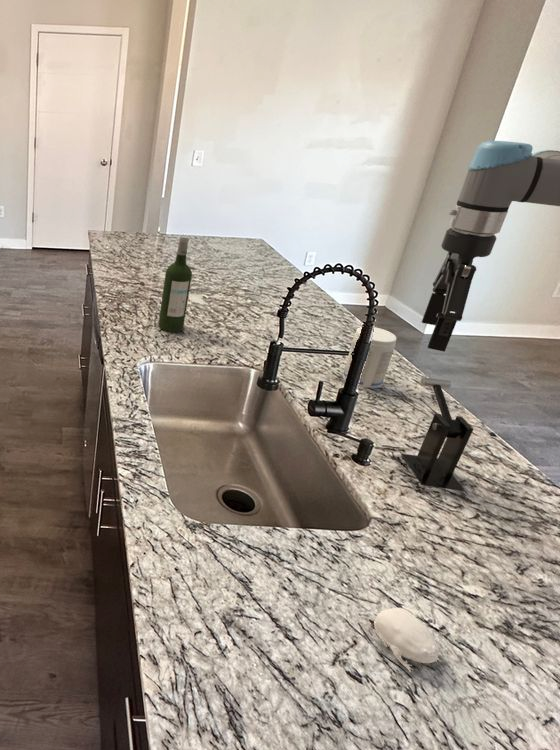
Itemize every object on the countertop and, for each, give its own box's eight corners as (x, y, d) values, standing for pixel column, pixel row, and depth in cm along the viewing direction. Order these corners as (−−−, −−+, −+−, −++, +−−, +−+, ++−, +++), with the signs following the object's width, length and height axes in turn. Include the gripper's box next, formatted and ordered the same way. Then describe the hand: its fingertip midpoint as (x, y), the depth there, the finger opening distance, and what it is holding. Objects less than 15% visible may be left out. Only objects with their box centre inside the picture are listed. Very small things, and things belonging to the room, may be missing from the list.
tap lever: (418, 381, 115) (424, 374, 113) (444, 384, 114) (450, 377, 113) (435, 435, 107) (442, 429, 105) (463, 439, 106) (470, 433, 104)
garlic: (447, 664, 75) (457, 646, 74) (409, 676, 73) (419, 659, 72) (398, 613, 82) (406, 597, 80) (363, 624, 80) (371, 607, 79)
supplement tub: (373, 375, 149) (390, 328, 143) (386, 393, 141) (404, 343, 135) (336, 371, 151) (351, 324, 144) (347, 388, 142) (363, 339, 136)
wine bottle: (174, 320, 178) (188, 232, 165) (187, 331, 171) (203, 239, 158) (153, 323, 176) (166, 233, 163) (165, 333, 169) (179, 241, 156)
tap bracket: (399, 457, 117) (420, 404, 111) (439, 463, 116) (463, 409, 110) (419, 489, 108) (444, 433, 102) (462, 495, 107) (490, 439, 101)
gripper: (440, 215, 109) (407, 310, 118) (456, 243, 89) (415, 356, 98) (485, 220, 106) (447, 318, 115) (512, 251, 86) (464, 366, 95)
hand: (432, 336), depth 107 cm, fingers open, 13 cm apart
